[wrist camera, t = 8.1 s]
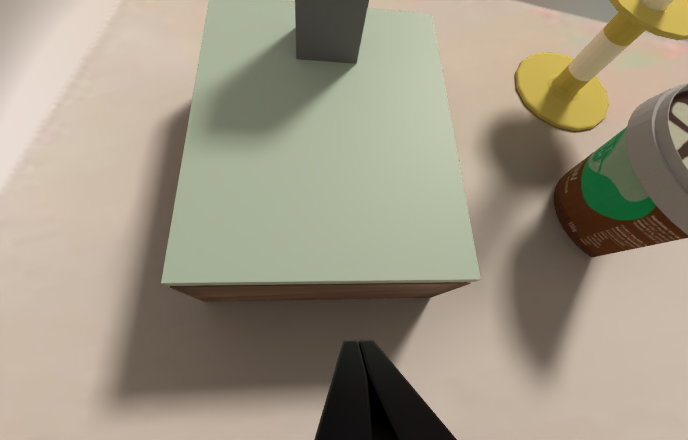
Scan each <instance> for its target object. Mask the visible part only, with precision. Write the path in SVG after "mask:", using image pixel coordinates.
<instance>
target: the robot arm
mask: <svg viewBox="0 0 688 440" xmlns="http://www.w3.org/2000/svg"><path fill="white" fill-rule="evenodd" d="M315 440H457V439H456V438H455V437H454V436H453V435H452V433H451V432H450V431H449V430H448V429H447V427H446V426H445V425H444V424H443V423H442V421H441V420H440V419H439V418H438V417H437V416H436V414H435V413H434V412H433V411H432V410H431V408H430V407H429V406H428V405H427V404H426V402H425V401H424V400H423V399H422V398H421V396H420V395H419V394H418V393H417V392H416V391H415V389H414V388H413V387H412V386H411V385H410V383H409V382H408V381H407V380H406V379H405V377H404V376H403V375H402V374H401V373H400V372H399V370H398V369H397V368H396V367H395V366H394V364H393V363H392V362H391V361H390V360H389V358H388V357H387V356H386V355H385V354H384V352H383V351H382V350H381V349H380V348H379V347H378V345H377V344H376V343H375V342H374V341H373V340H359V341H357V340H344V341H343V344H342V347H341V351H340V354H339V357H338V361H337V364H336V368H335V371H334V375H333V378H332V381H331V385H330V388H329V392H328V395H327V399H326V402H325V405H324V409H323V412H322V416H321V419H320V422H319V426H318V429H317V433H316V436H315Z"/></svg>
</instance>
